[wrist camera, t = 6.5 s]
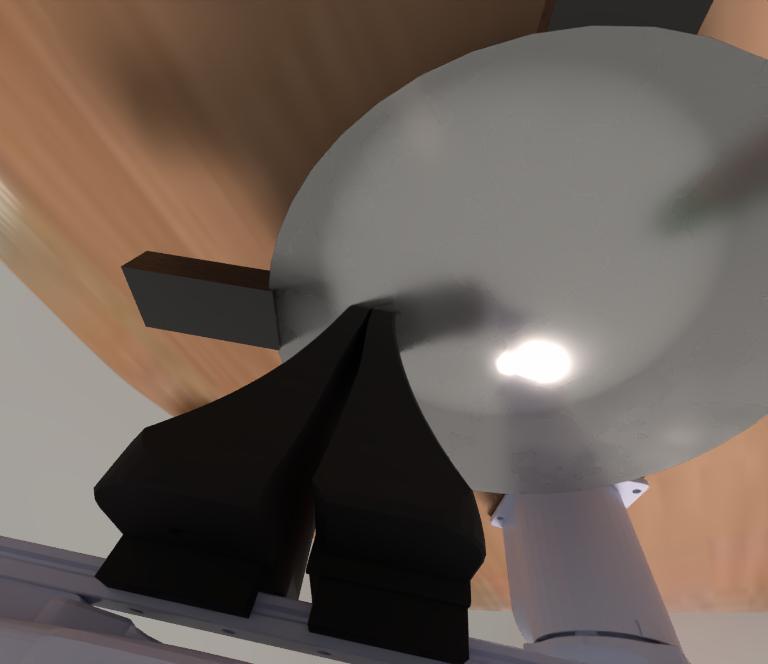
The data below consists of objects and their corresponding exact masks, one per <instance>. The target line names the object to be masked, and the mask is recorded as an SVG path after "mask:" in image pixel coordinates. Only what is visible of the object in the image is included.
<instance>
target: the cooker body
mask: <svg viewBox="0 0 768 664" xmlns="http://www.w3.org/2000/svg"><path fill="white" fill-rule="evenodd" d="M712 2H713V0H546V2H545V6H544V9H543V13H542V16H541V20H540V24H539V27H538V31H537V33H544V32H551V31H558V30H565V29H572V28H579V27H586V26H636V27H658V28H663V29H668V30H674V31H679V32H684V33H689V34H694V35H697V33H698V31H699V29H700V27H701V25H702V23H703V21H704V19H705V17H706V15H707V13H708V11H709V9H710V6H711V4H712Z"/></svg>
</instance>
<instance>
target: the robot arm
mask: <svg viewBox="0 0 768 664" xmlns="http://www.w3.org/2000/svg"><path fill="white" fill-rule="evenodd" d="M369 312H370V308H365V307H359V306H353V305H351V306H349V307H348V308H347V309H346V310H345V311H344V312H343V313H342V314H341V315H340V316H339V317H338V318H337V319H336V320H335V321H334V322H333V323H332V324H331V325H330V326H329V327H327V328H326V329H325V330H324V331H323V332H322V333H321V334H320V335H319V336H317V337H316V338H315V339H314V340H313V341H312V342H310V343H309V344H308V345H307V346H305V347H304V348H303V349H302V350H300V351H299V352H298V353H296V354H295V355H294V356H293V357H291V358H290V359H288V360H287V361H286V362H284V363H283V364H281V365H280V366H278V367H277V368H275V369H274V370H272V371H270V372H269V373H267V374H266V375H264V376H262V377H260V378H259V379H257V380H255V381H253V382H251V383H250V384H248V385H246V386H244V387H242V388H240V389H239V390H237V391H235V392H233V393H231V394H228V395H226V396H224V397H222V398H220V399H218V400H216V401H213V402H211V403H209V404H206V405H204V406H202V407H199V408H197V409H195V410H192V411H190V412H187V413H184V414H182V415H179V416H176V417H174V418H171V419H168V420H165V421H163V422H160V423H157V424H155V425H152V426H149V427H146V428H144V429H143V431H142V432H141V433H140V434H139V435H138V436H137V437H136V438H135V439H134V440H133V441H132V442H131V443H130V445H129V446H128V447H127V448H126V449H125V451H124V452H123V453H122V454H121V455H120V457H119V458H118V459H117V460H116V461H115V463H114V464H113V465H112V466H111V467H110V469H109V470H108V471H107V472H106V474H105V475H104V476H103V477H102V478H101V480H100V481H99V482H98V483H97V484H96V486H95V487H94V496H95V501H96V502H97V504H98V505H99V507H100V508H101V510H102V511H103V512H104V513H105V514H106V515H107V516H108V517H109V519H110V520H111V521H112V522H113V523H114V524H115V525H116V527H117V528H118V529H119V530H120V531H121V532H122V534H123V536H122V537H121V538H120V540H119V542H118V543H117V544H116V546H115V547H114V549H113V550H112V551H111V553H110V554H109V556H108V557H107V559H105V558H101V557H96V556H91V555H87V554H82V553H78V552H73V551H68V550H64V549H59V548H55V547H50V546H45V545H41V544H36V543H31V542H27V541H22V540H18V539H13V538H8V537H4V536H0V664H252V663H248V662H244V661H240V660H236V659H231V658H227V657H223V656H219V655H214V654H210V653H205V652H201V651H197V650H192V649H187V648H182V647H178V646H173V645H168V644H163V643H161V642H159V641H158V640H155V639H154V638H152V637H150V636H148V635H146V634H145V633H143V632H142V631H141V630H139V629H138V628H136V627H135V625H134V624H133V622H132V621H131V620H130V619H128V618H126V617H123V616H120V615H116V614H114V613H111V612H108V611H105V610H102V609H99V608H96V607H93V606H98V607H102V608H107V609H111V610H116V611H121V612H124V613H129V614H133V615H138V616H142V617H147V618H151V619H156V620H160V621H165V622H169V623H174V624H178V625H182V626H187V627H191V628H195V629H200V630H204V631H209V632H213V633H218V634H222V635H226V636H231V637H235V638H240V639H244V640H249V641H253V642H257V643H262V644H266V645H271V646H275V647H280V648H284V649H289V650H293V651H298V652H302V653H306V654H311V655H315V656H320V657H324V658H329V659H333V660H337V661H342V662H346V663H350V664H691V663H690V662H689V660H688V659H687V657H686V656H685V654H684V652H683V650H682V648H681V645H680V642H679V640H678V637H677V635H676V632H675V630H674V627H673V625H672V623H671V620H670V617H669V615H668V612H667V610H666V608H665V605H664V603H663V600H662V598H661V595H660V593H659V590H658V588H657V585H656V583H655V580H654V578H653V575H652V573H651V570H650V568H649V565H648V563H647V560H646V558H645V555H644V553H643V550H642V548H641V545H640V543H639V540H638V538H637V535H636V533H635V530H634V528H633V525H632V523H631V520H630V518H629V515H628V513H627V510H626V508H627V507H628V506H630V505H631V504H632V503H633V502H634V501H635V500H636V499H637V498H638V497H639V496H641V495H642V494H643V493H644V492H645V491H646V490H647V489H648V488H649V484H648V482H647V481H646V480H645V479H642V478H638V479H634V480H630V481H626V482H622V483H618V484H614V485H610V486H605V487H599V488H593V489H587V490H581V491H572V492H562V493H550V494H505V496H504V497H503V499H502V500H501V502H500V504H499V505H498V507H497V509H496V510H495V512H494V513H493V515H492V517H491V518H490V523H491V525H493V526H496V527H501V528H502V529H503V537H504V546H505V555H506V563H507V572H508V581H509V589H510V598H511V606H512V611H513V615H514V618H515V621H516V624H517V626H518V628H519V630H520V632H521V634H522V635H523V637H524V639H525V640H526V642H527V643H525V644H523V646H524V649H520V648H516V647H511V646H507V645H502V644H498V643H493V642H489V641H484V640H479V639H475V638H470V637H469V636H468V635H469V634H468V608H469V607H470V605H471V586H470V580H471V579H472V578H473V576H474V575H475V573H476V572H477V571H478V569H479V568H480V566H481V565H482V564H483V562H484V559H485V556H486V547H485V538H484V533H483V527H482V522H481V518H480V514H479V510H478V507H477V504H476V500H475V497H474V494H473V491H472V489H471V488H470V487H469V485H468V484H467V483H466V481H465V480H464V479H463V477H462V476H461V474H460V473H459V472H458V470H457V469H456V467H455V466H454V465H453V463H452V462H451V460H450V459H449V457H448V456H447V454H446V453H445V451H444V449H443V448H442V446H441V445H440V443H439V442H438V440H437V438H436V436H435V435H434V433H433V431H432V429H431V428H430V426H429V424H428V422H427V421H426V419H425V417H424V415H423V413H422V411H421V409H420V407H419V405H418V403H417V401H416V398H415V396H414V394H413V391H412V389H411V386H410V384H409V381H408V378H407V376H406V373H405V370H404V367H403V363H402V360H401V356H400V352H399V348H398V343H397V338H396V331H395V317H396V315H395V314H394V313H393V312H390V311H384V310H377V309H373V311H372V313H371V315H370V318H369ZM315 529H316V535H315V539H314V543H313V546H312V550H311V553H310V556H309V551H310V547H311V543H312V539H313V535H314V531H315ZM308 556H309V560H308ZM307 560H308V563H307ZM306 565H307V567H306ZM305 569H306V573H307V574H309V577H310V586H311V594H312V603H308V602H304V601H299V600H298V599H299V595H300V590H301V586H302V582H303V577H304V573H305Z"/></svg>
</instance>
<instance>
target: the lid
mask: <svg viewBox="0 0 768 664" xmlns="http://www.w3.org/2000/svg"><path fill="white" fill-rule="evenodd" d="M121 268H122V270H123V273H124V275H125V277H126V280H127V282H128V285H129V287H130V289H131V292H132V294H133V297H134V299H135V301H136V304H137V306H138V309H139V311H140V313H141V316H142V318H143V321H144V323H145V326H146V327H152V328H157V329H163V330H168V331H174V332H180V333H185V334H191V335H196V336H202V337H208V338H213V339H219V340H224V341H230V342H236V343H241V344H247V345H252V346H258V347H263V348H269V349H275V350H278V352H279V354H280V357H281V360H282V363H284V362H286V361H287V360H288V359H290V358H291V357H293V356H294V355H295V354H296V353H298V352H299V351H300V350H302V349H303V348H304V347H305V346H307V345H308V344H309V343H310V342H312V341H313V340H314V339H315V338H316V337H317V336H319V335H320V334H321V333H322V332H323V331H324V330H325V329H326V328H327V327H329V326H330V325H331V324H332V323H333V322H334V321H335V320H336V319H337V318H338V317H339V316H340V315H341V314H342V313H343V312H344V311H345V310H346V309H347V308H348V307H349V306H351V305H353V306H359V307H365V308H370V312H369V318H370V315H371V313H372V311H373V309H377V310H384V311H390V312H393V313H394V314H395V315H396V317H395V331H396V338H397V343H398V348H399V352H400V356H401V360H402V363H403V367H404V370H405V373H406V376H407V378H408V381H409V384H410V386H411V389H412V391H413V394H414V396H415V398H416V401H417V403H418V405H419V407H420V409H421V411H422V413H423V415H424V417H425V419H426V421H427V422H428V424H429V426H430V428H431V429H432V431H433V433H434V435H435V436H436V438H437V440H438V442H439V443H440V445H441V446H442V448H443V449H444V451H445V453H446V454H447V456H448V457H449V459H450V460H451V462H452V463H453V465H454V466H455V467H456V469H457V470H458V472H459V473H460V474H461V476H462V477H463V479H464V480H465V481H466V483H467V484H468V485H469V487H470V488H471V489H472V490H475V491H481V492H492V493H502V494H550V493H562V492H572V491H581V490H587V489H593V488H599V487H605V486H610V485H614V484H618V483H622V482H626V481H630V480H634V479H638V478H641V477H644V476H647V475H650V474H653V473H657V472H660V471H663V470H666V469H668V468H671V467H673V466H676V465H678V464H680V463H683V462H685V461H688V460H690V459H693V458H695V457H697V456H699V455H701V454H703V453H705V452H707V451H709V450H711V449H713V448H715V447H717V446H719V445H721V444H723V443H724V442H726V441H728V440H729V439H731V438H733V437H734V436H736V435H738V434H739V433H741V432H742V431H744V430H746V429H747V428H749V427H751V426H752V425H753V424H755V423H756V422H757V421H759V420H760V419H761V418H763V417H764V416H765V415H767V414H768V60H767V59H764V58H762V57H759V56H757V55H754V54H752V53H749V52H747V51H744V50H742V49H739V48H737V47H734V46H732V45H729V44H727V43H724V42H722V41H719V40H717V39H714V38H710V37H704V36H699V35H694V34H689V33H684V32H679V31H674V30H668V29H663V28H658V27H636V26H586V27H579V28H572V29H565V30H558V31H551V32H544V33H536V34H530V35H527V36H523V37H520V38H517V39H513V40H510V41H506V42H503V43H500V44H496V45H493V46H490V47H486V48H483V49H479V50H476V51H473V52H471V53H468V54H466V55H464V56H462V57H460V58H458V59H455V60H453V61H451V62H449V63H447V64H445V65H442V66H440V67H438V68H436V69H434V70H432V71H429V72H427V73H425V74H423V75H421V76H419V77H418V78H416V79H415V80H413V81H412V82H410V83H408V84H407V85H405V86H404V87H402V88H401V89H399V90H398V91H396V92H395V93H393V94H391V95H390V96H388V97H387V98H385V99H384V100H382V101H381V102H379V103H378V104H376V105H375V106H374V107H373V108H372V109H371V110H369V111H368V112H367V113H366V114H365V115H364V116H363V117H361V118H360V119H359V120H358V121H357V122H356V123H354V124H353V125H352V126H351V127H350V128H349V129H348V130H346V131H345V132H344V133H343V134H342V135H341V136H340V137H339V138H338V139H337V140H336V142H335V143H334V144H333V145H332V146H331V147H330V149H329V150H328V151H327V152H326V153H325V155H324V156H323V157H322V158H321V159H320V160H319V162H318V163H317V164H316V165H315V166H314V167H313V169H312V170H311V172H310V173H309V175H308V177H307V178H306V180H305V182H304V183H303V185H302V186H301V188H300V190H299V191H298V193H297V194H296V196H295V198H294V199H293V201H292V203H291V205H290V208H289V210H288V212H287V215H286V217H285V219H284V222H283V224H282V226H281V229H280V231H279V234H278V238H277V242H276V245H275V249H274V253H273V257H272V261H271V268H270V271H268V270H262V269H256V268H249V267H243V266H237V265H231V264H225V263H219V262H212V261H206V260H200V259H194V258H188V257H182V256H176V255H169V254H163V253H157V252H151V251H146V252H144V253H143V254H141V255H139V256H138V257H136V258H134V259H133V260H131V261H129V262H128V263H126V264H124V265H123V266H121Z"/></svg>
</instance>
